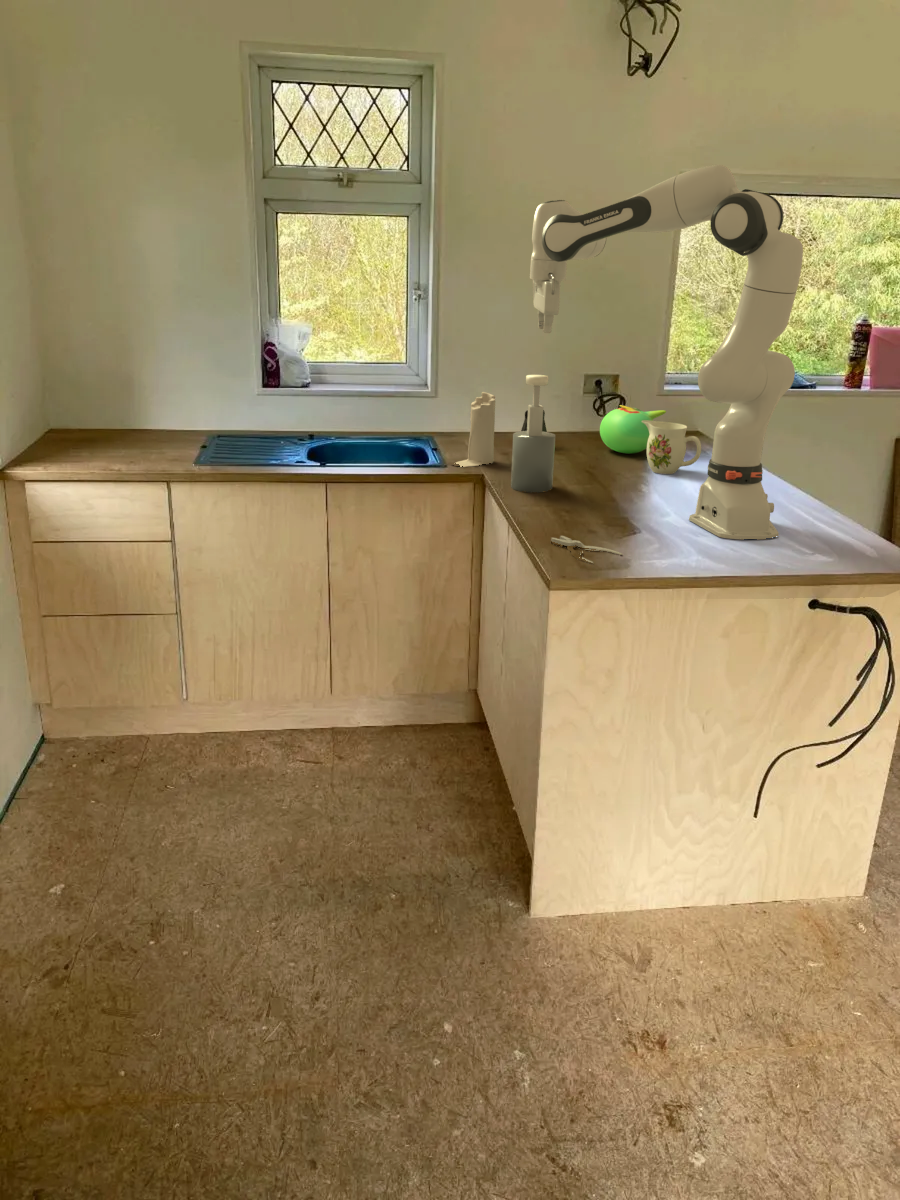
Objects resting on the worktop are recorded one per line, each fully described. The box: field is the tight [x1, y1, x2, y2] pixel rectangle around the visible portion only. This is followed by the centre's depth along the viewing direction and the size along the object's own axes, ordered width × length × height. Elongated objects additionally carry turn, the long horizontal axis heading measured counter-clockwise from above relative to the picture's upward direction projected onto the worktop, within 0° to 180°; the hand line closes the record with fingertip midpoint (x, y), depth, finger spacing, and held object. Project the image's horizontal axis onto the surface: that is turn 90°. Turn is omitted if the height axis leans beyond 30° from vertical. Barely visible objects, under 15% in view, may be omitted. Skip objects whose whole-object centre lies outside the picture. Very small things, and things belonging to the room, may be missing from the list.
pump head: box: [525, 374, 549, 407], centre depth 238 cm, size 6×6×9 cm
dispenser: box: [510, 404, 556, 493], centre depth 243 cm, size 11×11×22 cm
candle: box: [455, 391, 496, 468], centre depth 268 cm, size 7×14×20 cm, turn 130°
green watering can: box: [599, 404, 667, 455], centre depth 287 cm, size 18×17×15 cm
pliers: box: [550, 535, 623, 564], centre depth 197 cm, size 10×2×15 cm
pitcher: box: [642, 420, 702, 475], centre depth 263 cm, size 11×18×14 cm, turn 58°
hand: (544, 330), depth 232 cm, fingers open, 8 cm apart
